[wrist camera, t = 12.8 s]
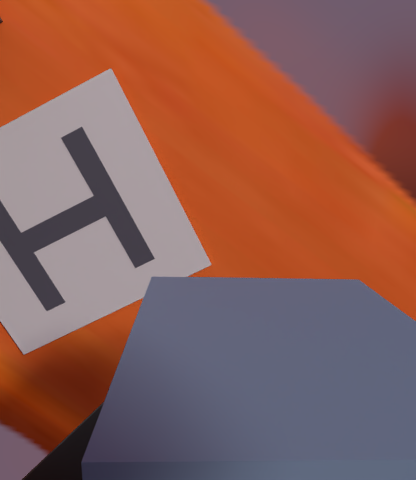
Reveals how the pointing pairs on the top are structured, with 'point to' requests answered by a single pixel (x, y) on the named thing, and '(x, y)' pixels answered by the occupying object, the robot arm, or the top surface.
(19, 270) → the letter card
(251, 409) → the slate blue cube
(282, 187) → the top surface
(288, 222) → the top surface
